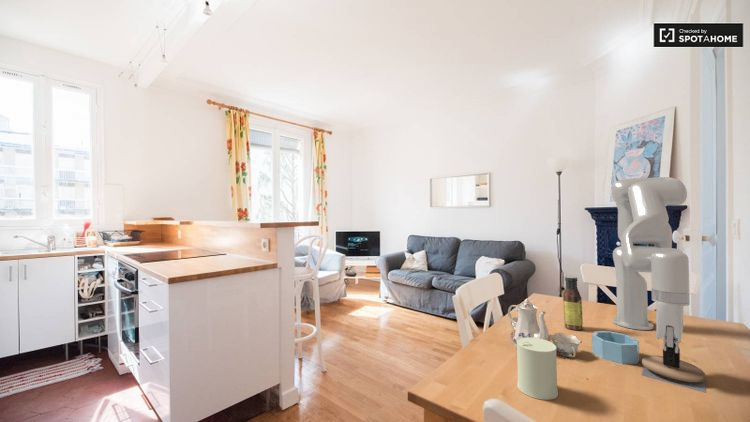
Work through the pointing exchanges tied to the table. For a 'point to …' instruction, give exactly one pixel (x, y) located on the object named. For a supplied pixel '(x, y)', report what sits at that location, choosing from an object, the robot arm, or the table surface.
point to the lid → (673, 369)
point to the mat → (675, 381)
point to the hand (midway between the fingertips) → (671, 363)
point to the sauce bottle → (572, 305)
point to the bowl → (615, 347)
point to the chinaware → (539, 329)
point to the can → (537, 368)
